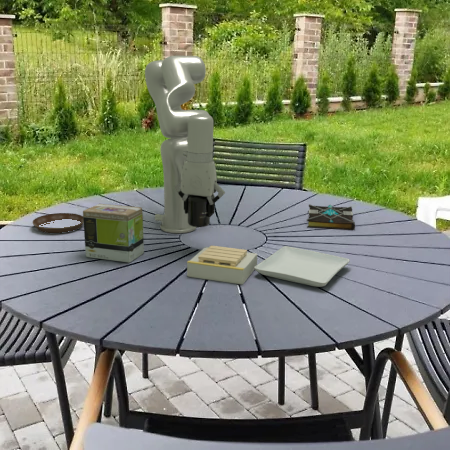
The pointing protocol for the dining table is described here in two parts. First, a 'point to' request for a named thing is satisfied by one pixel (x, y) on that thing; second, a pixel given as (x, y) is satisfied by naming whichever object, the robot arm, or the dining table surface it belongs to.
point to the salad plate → (302, 266)
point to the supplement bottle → (198, 211)
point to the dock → (222, 264)
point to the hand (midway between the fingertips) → (199, 213)
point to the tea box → (113, 232)
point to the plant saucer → (57, 216)
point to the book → (331, 217)
